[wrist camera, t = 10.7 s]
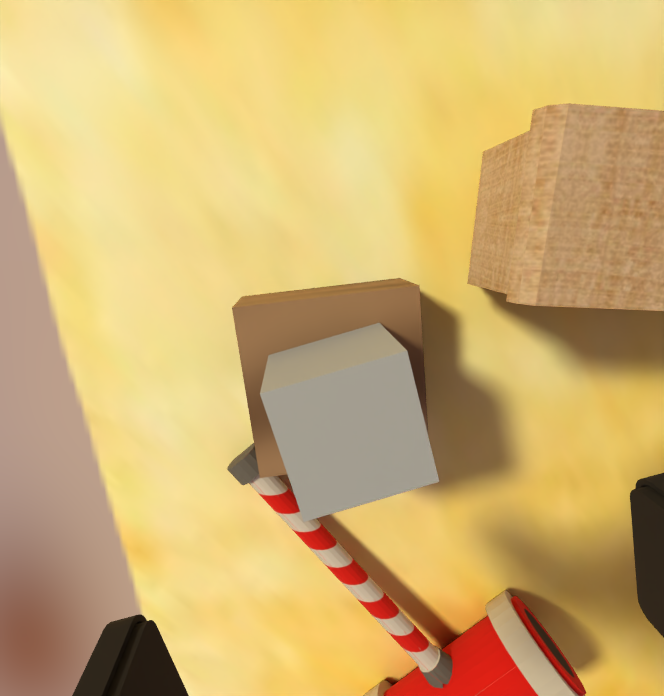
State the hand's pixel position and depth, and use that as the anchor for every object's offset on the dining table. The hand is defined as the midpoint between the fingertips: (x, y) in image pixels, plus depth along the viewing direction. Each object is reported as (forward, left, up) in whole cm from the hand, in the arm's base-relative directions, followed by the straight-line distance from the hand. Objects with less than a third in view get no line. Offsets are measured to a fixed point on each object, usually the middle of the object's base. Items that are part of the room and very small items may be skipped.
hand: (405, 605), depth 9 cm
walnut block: (0, 0, -16) cm, 16 cm away
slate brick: (0, 0, -12) cm, 12 cm away
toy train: (-4, +15, -16) cm, 22 cm away
